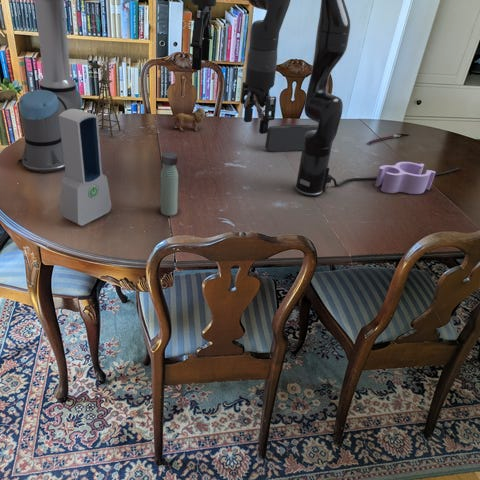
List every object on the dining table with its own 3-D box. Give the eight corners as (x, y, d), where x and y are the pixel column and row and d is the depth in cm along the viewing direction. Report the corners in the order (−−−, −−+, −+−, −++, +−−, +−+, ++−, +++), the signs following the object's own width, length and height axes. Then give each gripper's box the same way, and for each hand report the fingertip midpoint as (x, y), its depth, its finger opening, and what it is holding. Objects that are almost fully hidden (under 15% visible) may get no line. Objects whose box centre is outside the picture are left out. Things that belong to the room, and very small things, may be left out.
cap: (168, 167, 129) (168, 159, 128) (158, 161, 131) (158, 154, 130) (180, 163, 132) (180, 155, 130) (171, 158, 134) (171, 150, 133)
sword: (406, 132, 223) (406, 130, 222) (411, 134, 221) (412, 132, 220) (362, 144, 207) (363, 141, 206) (368, 146, 205) (368, 143, 204)
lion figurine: (202, 126, 204) (203, 106, 200) (205, 130, 200) (206, 110, 196) (169, 127, 200) (169, 106, 195) (172, 132, 195) (172, 110, 191)
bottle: (167, 217, 137) (167, 161, 128) (157, 210, 140) (157, 155, 130) (180, 212, 140) (182, 157, 131) (170, 205, 143) (171, 151, 134)
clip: (387, 196, 162) (393, 178, 159) (368, 180, 172) (373, 163, 168) (434, 192, 169) (440, 175, 165) (413, 177, 178) (419, 160, 175)
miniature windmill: (112, 137, 184) (107, 58, 168) (92, 134, 185) (85, 54, 169) (121, 130, 192) (117, 53, 176) (102, 127, 193) (96, 50, 177)
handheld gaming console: (315, 147, 196) (319, 124, 190) (317, 149, 194) (322, 126, 188) (264, 149, 189) (267, 125, 183) (266, 152, 187) (269, 127, 181)
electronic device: (79, 228, 128) (67, 121, 112) (60, 218, 131) (46, 113, 115) (112, 211, 137) (105, 110, 121) (94, 202, 140) (85, 103, 124)
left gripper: (209, -5, 127) (205, 75, 138) (223, -12, 148) (218, 58, 159) (181, -8, 127) (180, 72, 139) (199, -15, 148) (197, 55, 160)
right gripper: (288, 73, 115) (280, 135, 124) (260, 58, 125) (254, 116, 134) (262, 75, 111) (255, 139, 121) (235, 59, 121) (231, 119, 131)
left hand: (200, 65), depth 149 cm, fingers open, 13 cm apart
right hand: (255, 127), depth 127 cm, fingers open, 8 cm apart
